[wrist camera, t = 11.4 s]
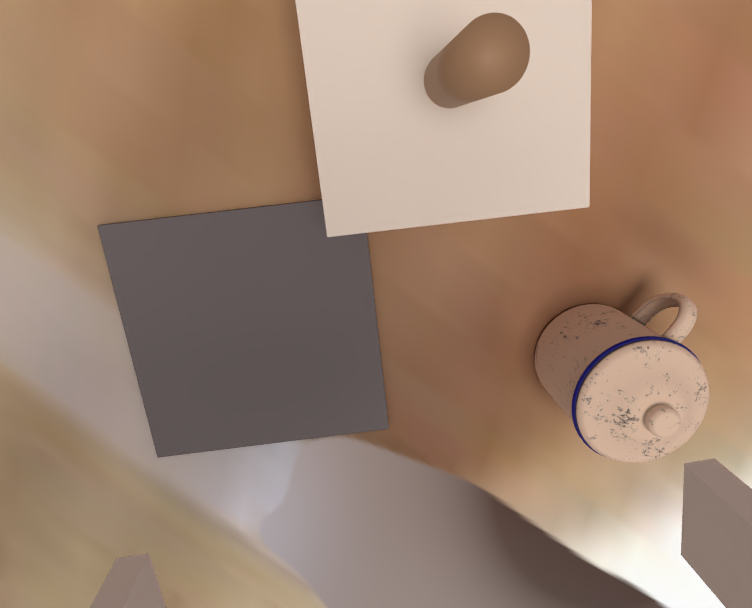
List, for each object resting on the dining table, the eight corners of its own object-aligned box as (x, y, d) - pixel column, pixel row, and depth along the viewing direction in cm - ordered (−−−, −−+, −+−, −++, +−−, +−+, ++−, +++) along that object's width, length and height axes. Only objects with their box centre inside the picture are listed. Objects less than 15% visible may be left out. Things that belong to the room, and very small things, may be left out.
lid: (327, 234, 33) (320, 271, 23) (287, -64, 28) (258, -169, 19) (582, 205, 33) (677, 230, 24) (584, -94, 29) (704, -213, 19)
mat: (159, 453, 44) (157, 457, 44) (100, 224, 38) (97, 225, 38) (388, 425, 44) (388, 428, 44) (362, 195, 39) (362, 195, 38)
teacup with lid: (590, 421, 45) (670, 512, 34) (507, 368, 44) (563, 446, 32) (686, 308, 43) (806, 366, 32) (602, 247, 41) (697, 286, 30)
